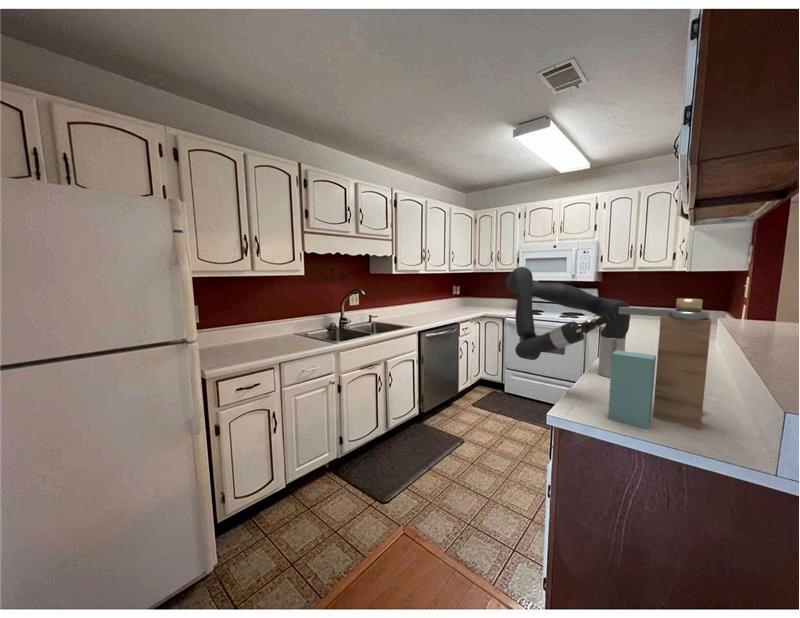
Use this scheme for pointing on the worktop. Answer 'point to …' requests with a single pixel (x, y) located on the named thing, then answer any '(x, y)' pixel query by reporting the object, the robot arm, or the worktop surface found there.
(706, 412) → the worktop surface
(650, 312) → the grey lever handle
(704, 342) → the tall stand
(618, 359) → the tall block
